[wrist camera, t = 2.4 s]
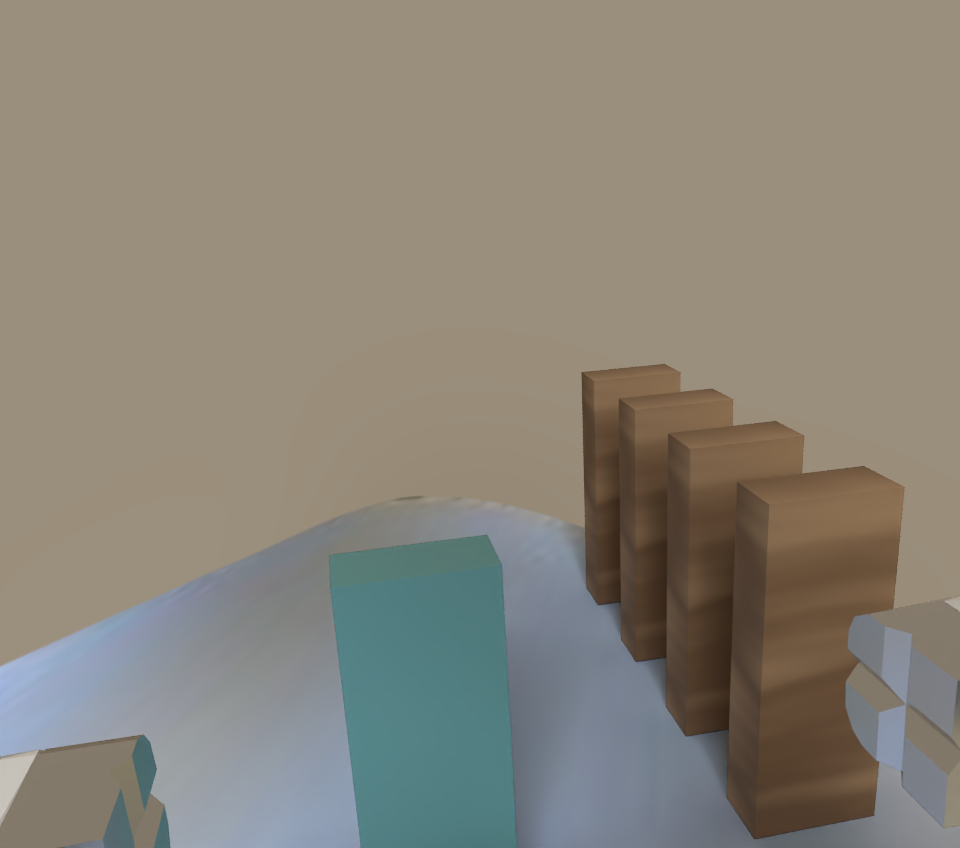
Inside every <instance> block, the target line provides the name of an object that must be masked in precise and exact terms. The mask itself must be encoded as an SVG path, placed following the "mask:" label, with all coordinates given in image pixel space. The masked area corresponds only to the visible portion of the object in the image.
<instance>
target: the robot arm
mask: <svg viewBox="0 0 960 848" xmlns="http://www.w3.org/2000/svg"><path fill="white" fill-rule="evenodd" d="M848 650H849V651H850V652H851V654H852V655H853V656H854V657H855V659H856V660H857V661H858V664H857V665H856V667H855V668H854V670H853V671H852V673H851V674H850V676H849V677H848V679H847V680H846V710H847V713H848V716H849V719H850V723H851V726H852V729H853V731H854V733H855V734H856V736H857V738H858V739H859V741H860V743H861V744H862V746H863V747H864V748H865V749H866V750H867V751H868V752H869V753H870V754H871V755H872V757H873V758H874V759H875V760H876V761H879V762H881V763H883V764H886V765H888V766H890V767H893V768H895V769H898V770H900V771H901V774H902V787H903V788H904V789H905V790H906V791H907V792H908V793H909V794H910V795H911V796H912V797H913V798H914V799H915V800H916V801H917V802H918V803H919V804H920V805H921V806H922V807H923V808H924V809H925V810H926V811H927V812H928V813H929V814H930V815H931V816H932V817H933V818H934V819H935V820H936V821H937V822H938V823H939V824H940V825H941V826H942V827H943V828H948V827H953V826H959V825H960V595H959V596H953V597H949V598H944V599H939V600H934V601H931V602H927V603H922V604H917V605H911V606H906V607H901V608H896V609H891V610H885V611H880V612H875V613H870V614H865V615H860V616H855V617H854V619H853V621H852V623H851V626H850V628H849V635H848ZM156 770H157V768H156V764H155V760H154V756H153V752H152V748H151V744H150V742H149V740H148V739H147V738H146V737H145V736H144V735H138V736H131V737H124V738H118V739H111V740H104V741H97V742H91V743H84V744H77V745H70V746H64V747H57V748H50V749H46V750H44V751H42V750H35V751H29V752H24V753H18V754H13V755H7V756H1V757H0V848H170V839H169V828H168V821H167V816H166V811H165V806H164V804H163V803H161V802H160V801H159V800H158V799H156V798H155V797H154V796H153V795H151V794H150V791H151V788H152V784H153V781H154V777H155V773H156Z"/></svg>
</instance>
